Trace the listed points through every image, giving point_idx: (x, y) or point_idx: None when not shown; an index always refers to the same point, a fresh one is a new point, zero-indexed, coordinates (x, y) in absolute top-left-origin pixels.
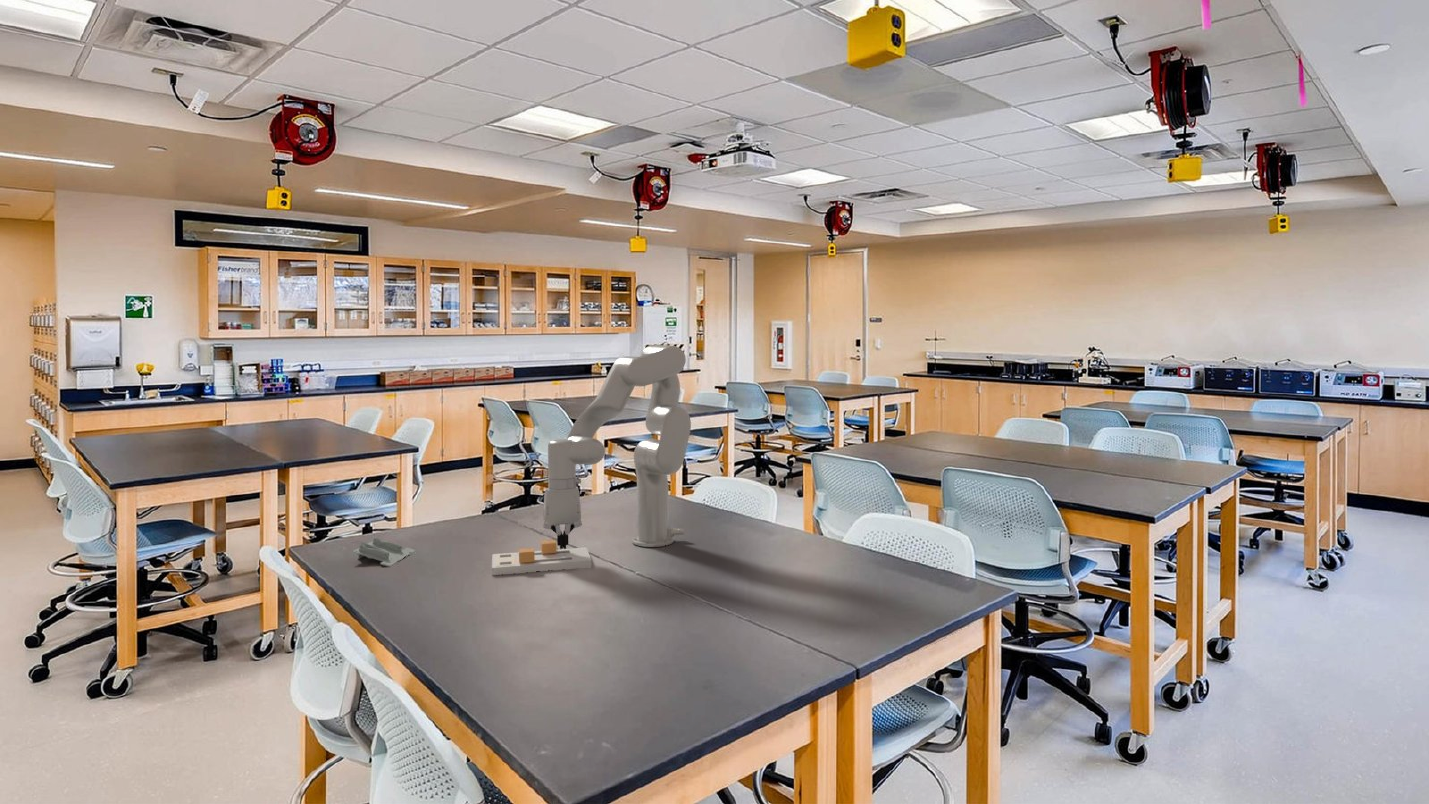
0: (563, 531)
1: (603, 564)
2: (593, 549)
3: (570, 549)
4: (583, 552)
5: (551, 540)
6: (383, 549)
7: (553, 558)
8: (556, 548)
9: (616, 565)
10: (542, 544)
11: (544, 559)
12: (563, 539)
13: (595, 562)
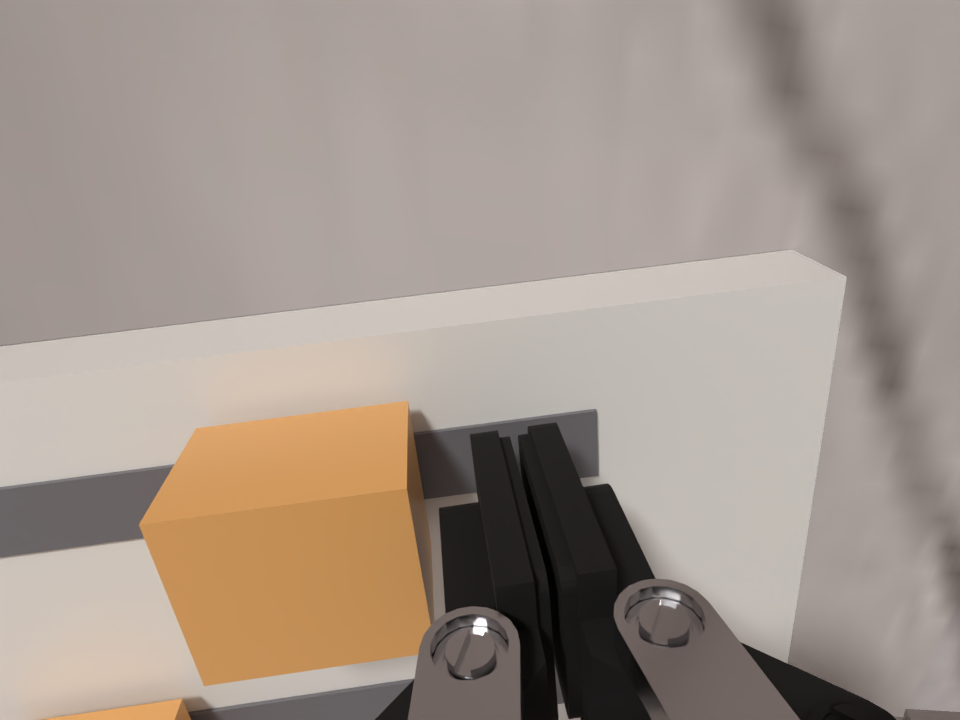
0: (590, 656)
1: (864, 596)
2: (942, 11)
3: (615, 353)
4: (758, 496)
5: (335, 524)
6: None
7: (405, 662)
8: (432, 584)
9: (957, 626)
10: (217, 678)
11: (310, 699)
12: (555, 665)
13: (812, 541)
